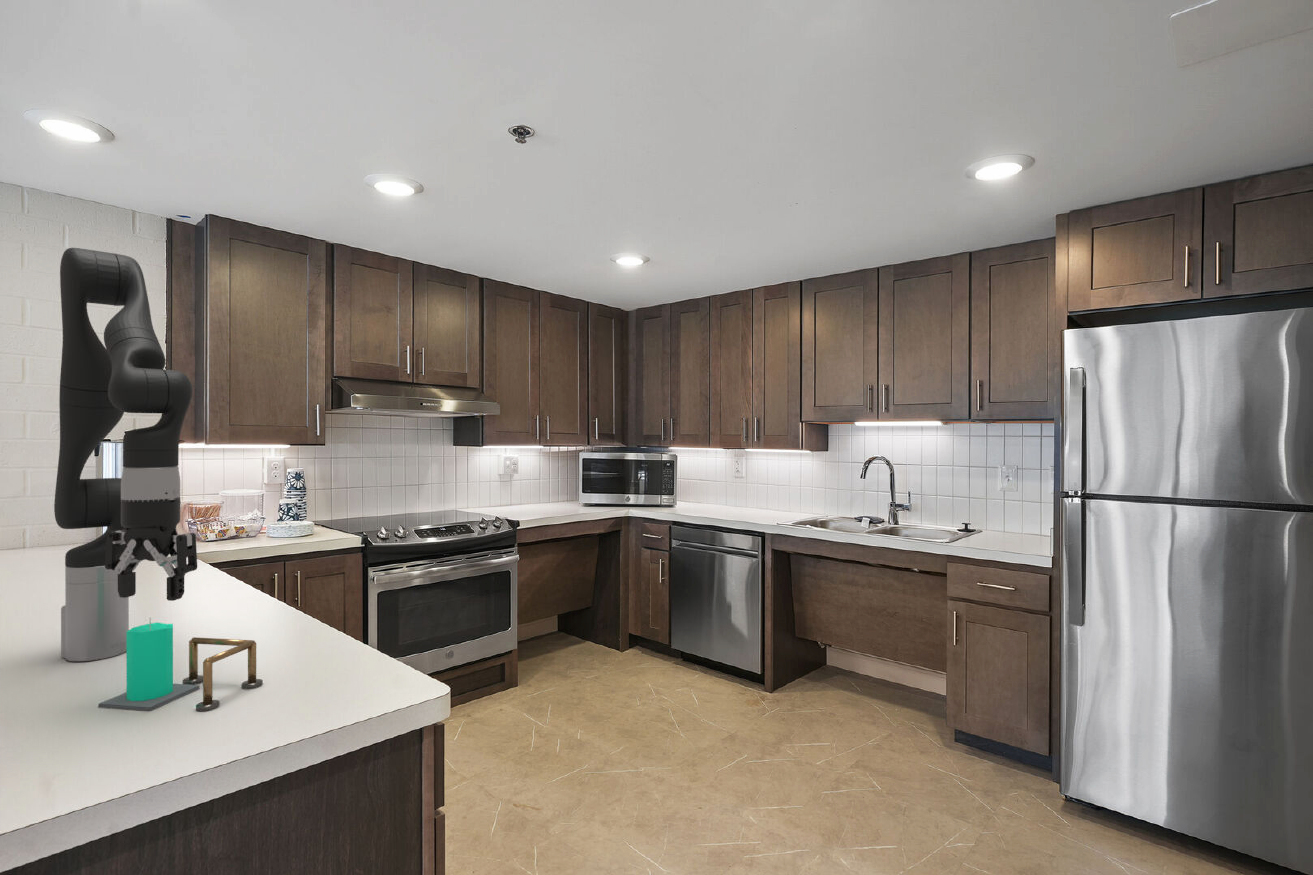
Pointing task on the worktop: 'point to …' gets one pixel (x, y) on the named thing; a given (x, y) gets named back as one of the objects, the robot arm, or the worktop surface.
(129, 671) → the candle
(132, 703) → the coaster
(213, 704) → the handrail
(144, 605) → the worktop surface
